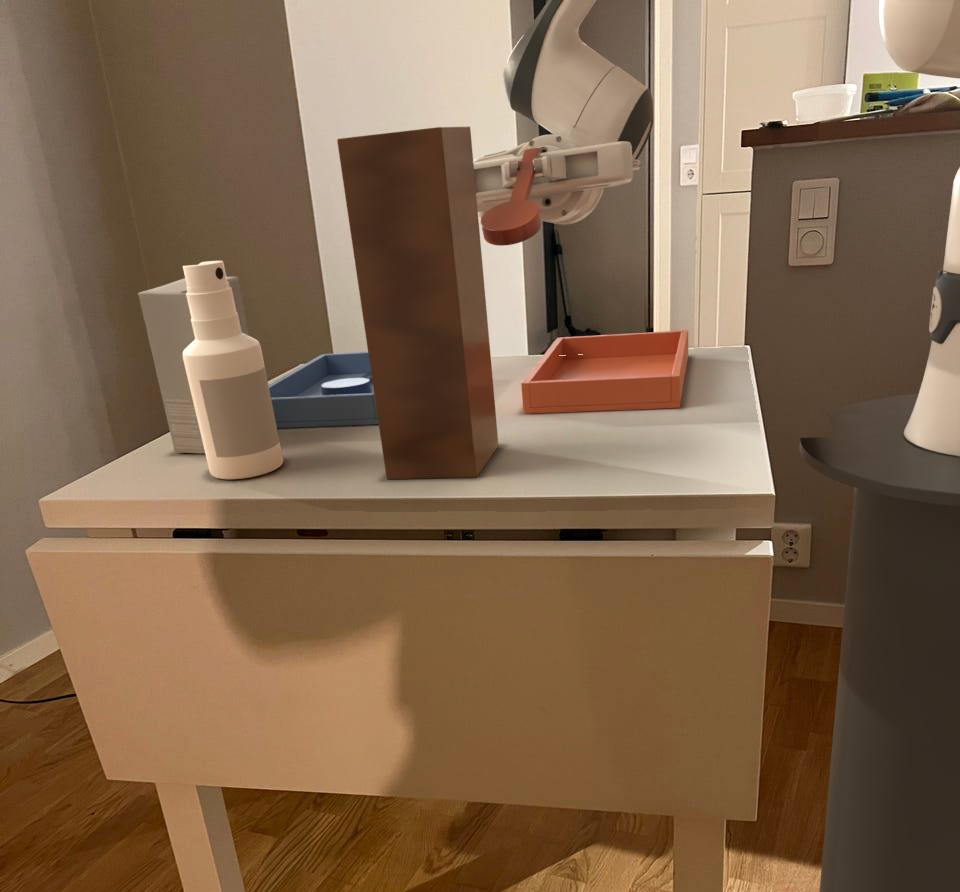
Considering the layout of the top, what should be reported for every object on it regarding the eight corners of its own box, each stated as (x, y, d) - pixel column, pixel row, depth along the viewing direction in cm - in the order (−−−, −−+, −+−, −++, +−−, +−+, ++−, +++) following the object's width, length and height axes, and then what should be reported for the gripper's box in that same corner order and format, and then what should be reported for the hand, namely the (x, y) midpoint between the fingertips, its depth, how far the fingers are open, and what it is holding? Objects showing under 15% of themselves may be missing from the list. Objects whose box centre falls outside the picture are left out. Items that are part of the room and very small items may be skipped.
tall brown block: (498, 446, 88) (470, 126, 76) (476, 477, 80) (441, 126, 68) (415, 448, 89) (375, 137, 78) (386, 479, 82) (336, 138, 70)
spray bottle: (250, 483, 85) (204, 267, 76) (194, 478, 88) (144, 270, 80) (298, 460, 90) (260, 256, 82) (244, 456, 93) (201, 259, 85)
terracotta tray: (688, 356, 113) (688, 329, 112) (679, 407, 93) (679, 375, 92) (558, 363, 117) (557, 337, 116) (523, 414, 97) (521, 383, 96)
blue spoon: (408, 369, 122) (407, 357, 121) (362, 400, 106) (360, 386, 106) (367, 372, 123) (366, 360, 123) (315, 402, 108) (313, 388, 107)
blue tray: (442, 372, 119) (439, 347, 118) (383, 424, 99) (379, 394, 97) (325, 378, 123) (321, 354, 121) (246, 429, 103) (240, 400, 101)
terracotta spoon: (559, 152, 99) (557, 137, 98) (537, 241, 88) (534, 226, 87) (507, 159, 100) (504, 145, 99) (479, 249, 90) (475, 233, 88)
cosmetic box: (216, 431, 103) (181, 276, 96) (274, 431, 100) (242, 272, 93) (170, 455, 96) (128, 289, 89) (230, 455, 94) (192, 285, 86)
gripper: (643, 197, 107) (630, 188, 94) (469, 220, 112) (434, 215, 100) (641, 134, 105) (627, 117, 92) (463, 161, 110) (427, 148, 98)
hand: (525, 168), depth 96 cm, fingers closed on terracotta spoon, 2 cm apart
